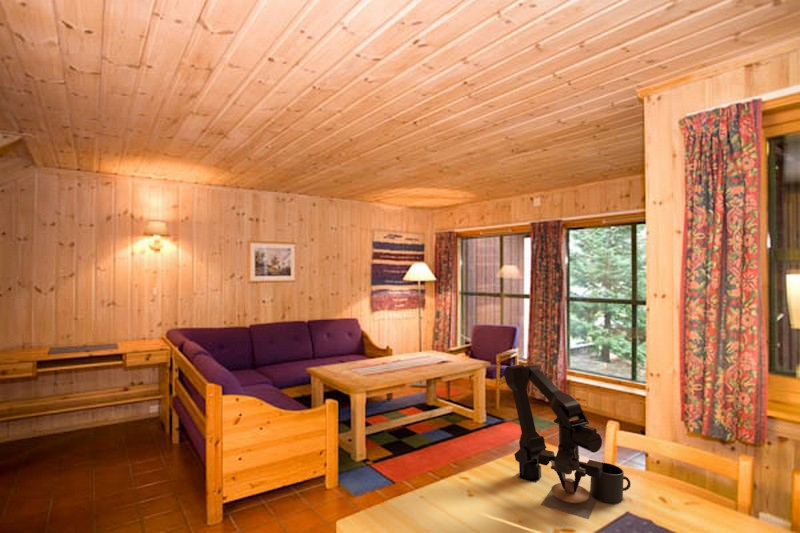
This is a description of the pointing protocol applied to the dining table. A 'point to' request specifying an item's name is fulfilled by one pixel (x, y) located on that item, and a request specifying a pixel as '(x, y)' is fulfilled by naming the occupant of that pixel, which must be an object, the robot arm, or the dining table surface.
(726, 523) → the dining table surface
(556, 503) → the mat
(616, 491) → the mug
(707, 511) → the dining table surface
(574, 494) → the lid
